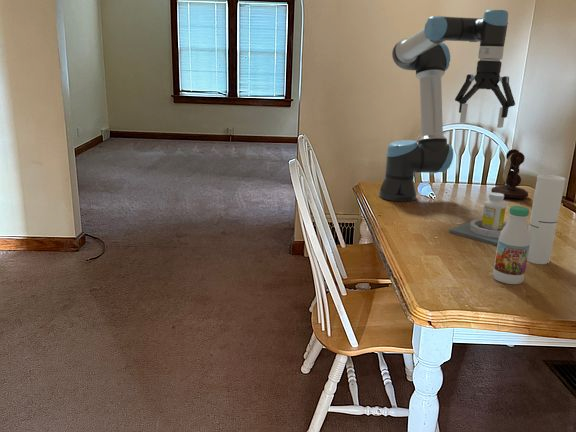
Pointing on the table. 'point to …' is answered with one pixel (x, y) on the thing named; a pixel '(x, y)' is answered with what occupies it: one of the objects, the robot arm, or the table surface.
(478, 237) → the collar board
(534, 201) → the cylindrical container
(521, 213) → the milk bottle
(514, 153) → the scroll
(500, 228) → the supplement bottle
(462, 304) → the table surface
